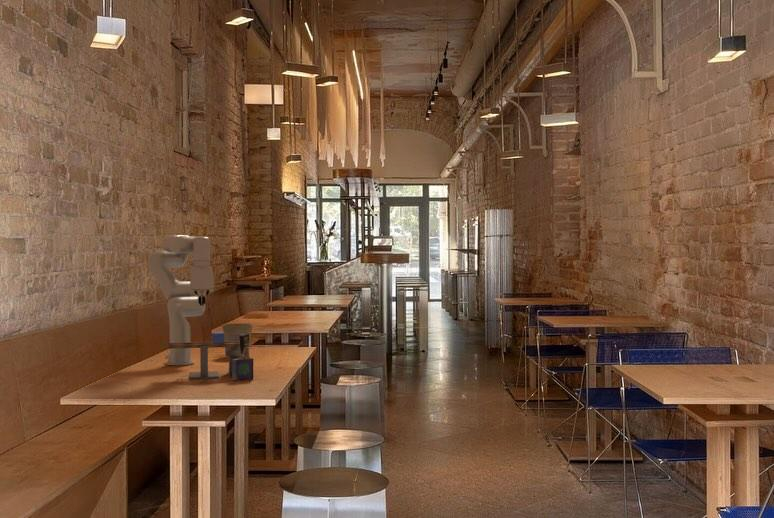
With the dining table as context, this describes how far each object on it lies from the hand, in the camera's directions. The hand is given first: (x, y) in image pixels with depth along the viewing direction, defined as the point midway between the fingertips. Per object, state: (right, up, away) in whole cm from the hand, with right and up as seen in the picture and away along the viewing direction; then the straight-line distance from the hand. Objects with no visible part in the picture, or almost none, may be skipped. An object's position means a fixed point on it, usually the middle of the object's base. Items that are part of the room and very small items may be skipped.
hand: (201, 305), depth 376 cm
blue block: (+11, -16, -17) cm, 26 cm away
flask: (+23, -30, -27) cm, 46 cm away
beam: (+5, -21, -18) cm, 28 cm away
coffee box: (+17, -29, -1) cm, 34 cm away
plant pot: (+8, -28, +47) cm, 55 cm away
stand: (+9, -29, -17) cm, 35 cm away
